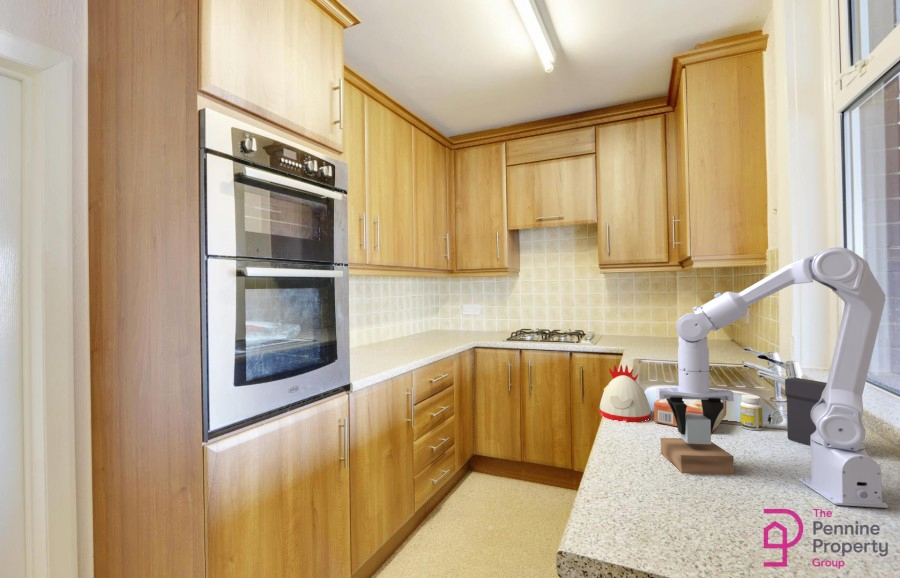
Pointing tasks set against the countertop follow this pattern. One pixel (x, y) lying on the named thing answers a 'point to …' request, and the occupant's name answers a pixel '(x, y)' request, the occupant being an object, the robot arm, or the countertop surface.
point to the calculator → (801, 407)
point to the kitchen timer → (624, 398)
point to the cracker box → (693, 406)
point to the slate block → (697, 429)
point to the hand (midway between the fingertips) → (694, 433)
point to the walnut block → (697, 457)
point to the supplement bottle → (751, 412)
